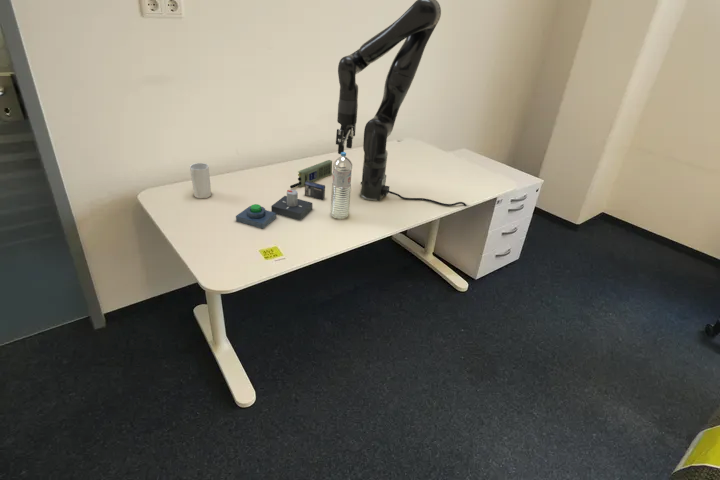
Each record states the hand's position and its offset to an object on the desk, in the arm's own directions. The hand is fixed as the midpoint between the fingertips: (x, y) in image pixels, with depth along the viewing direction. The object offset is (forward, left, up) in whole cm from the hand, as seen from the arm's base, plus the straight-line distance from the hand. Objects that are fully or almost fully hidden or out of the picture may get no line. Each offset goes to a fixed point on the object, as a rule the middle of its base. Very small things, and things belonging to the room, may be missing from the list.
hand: (344, 150), depth 173 cm
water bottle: (-8, +22, -17) cm, 29 cm away
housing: (+17, +40, -17) cm, 47 cm away
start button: (+17, +40, -14) cm, 45 cm away
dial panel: (+9, +28, -17) cm, 34 cm away
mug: (+47, +33, -17) cm, 60 cm away
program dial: (+9, +28, -14) cm, 33 cm away
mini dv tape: (+7, +13, -17) cm, 23 cm away
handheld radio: (+15, 0, -17) cm, 23 cm away
